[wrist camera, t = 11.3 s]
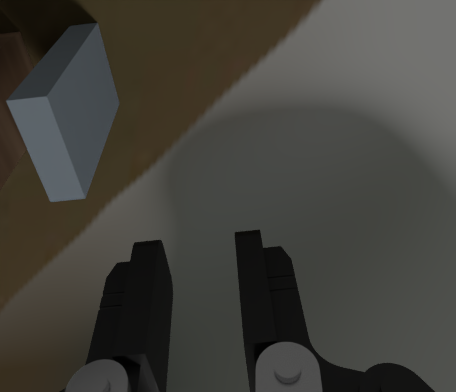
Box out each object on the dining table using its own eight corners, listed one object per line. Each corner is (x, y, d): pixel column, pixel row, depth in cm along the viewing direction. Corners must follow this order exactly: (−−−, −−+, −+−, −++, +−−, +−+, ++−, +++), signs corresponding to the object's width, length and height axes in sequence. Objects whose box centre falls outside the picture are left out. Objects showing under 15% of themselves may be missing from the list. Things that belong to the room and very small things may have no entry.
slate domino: (94, 106, 28) (50, 201, 20) (69, 25, 25) (5, 100, 17) (119, 103, 28) (85, 198, 20) (97, 22, 25) (46, 96, 17)
